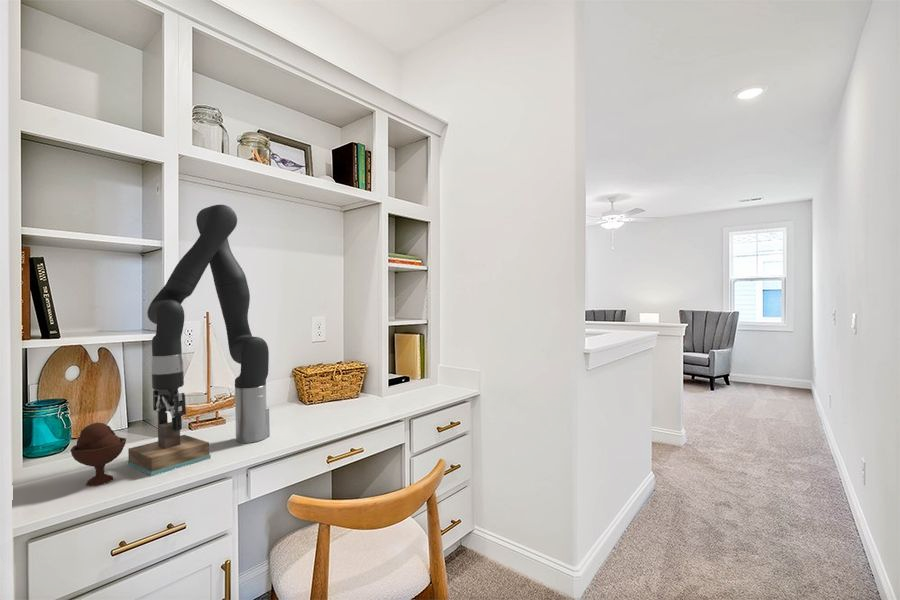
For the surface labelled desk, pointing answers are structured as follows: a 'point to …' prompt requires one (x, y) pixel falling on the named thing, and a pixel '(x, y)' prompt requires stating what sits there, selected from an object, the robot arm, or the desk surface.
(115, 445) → the ice cream bowl
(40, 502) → the desk surface
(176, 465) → the teal mat
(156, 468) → the walnut cover
